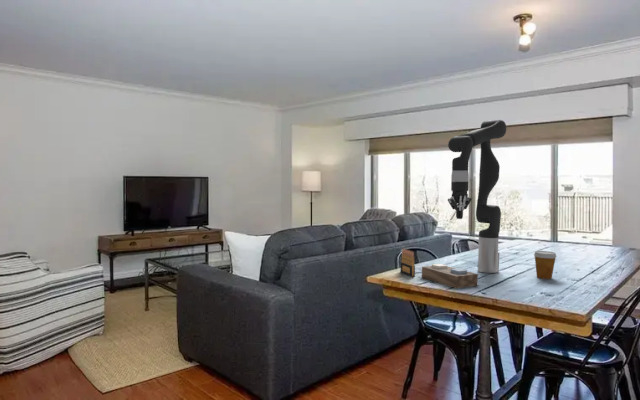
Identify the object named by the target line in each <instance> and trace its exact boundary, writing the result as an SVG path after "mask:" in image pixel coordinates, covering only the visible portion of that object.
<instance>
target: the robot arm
mask: <svg viewBox="0 0 640 400" xmlns="http://www.w3.org/2000/svg"><path fill="white" fill-rule="evenodd" d="M506 133H507V124H506V122H505V121H504V120H502V119H492V120H484V121H483V122H481V124H480V128H479V129H478V128H477V129H474V130H472V131H471V130H470V131H469V132H466V133H464V134H459V135H455V136H453V137H451V138H450V139H449V141H448V142H447V143H448V145H447V147H448V149H449V151H451V152H452V153H460V155H459V156H458V157H457V156H456V157H454V158H452V161H451V169H452V170H451V175H450V176H451V177H450V178H451V184H450V185H451V186H450V187H451V188H450V190H451V192H452V193H451V197H449V198H447V202H448V203H449V205H450V207H451V209H452V210H455V218H456V219H457V220H462V219H464V218H463V217H464V210H467V209H468V207H469V205H470V203H471V201H472V198H471V197H469V194H468V191H469V188H470V187H469V182H470V174H469V173H470V172H469V161H470V158H471V154H472V151H473V148H474V147H477V146H478V145H480V158H479V159H480V161H479V162H480V163H479V173H478V174H479V175H478V176H479V177H478V178H479V181H478V182H479V183H478V193H477V195H478V196H477V201H476V207H475V208H476V209H475V218H476V221H477V223H481V224H489V225H488V227H487V228H485V229H481V230H479V232H478V249H477V251H478V252H477V254H478V257H477V271H478V272H481V273H486V274H496V273H498V272H500V252H499V238H500V237H499V235H500V231H501V218H502V211H501V210H502V209H501V207H500V206H499V205H494V204H488V198H489V196H490V194H491V191H492V190H493V189H494V188H495V186H496V185H497V183H498V181H499V179H500V167H501V166H500V164H499V161H498V159H497V157H496V155H495V154H494V152H493V150H492V148H491V147H492V146H491V140H494V139H496V140H497V139H501V138H503V137H504V136H505V135H506Z"/></svg>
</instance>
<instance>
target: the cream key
mask: <svg viewBox="0 0 640 400" xmlns="http://www.w3.org/2000/svg"><path fill="white" fill-rule="evenodd" d="M431 266H432V268H436V269H447V266H448V265H447V264H442V263H433V264H431Z"/></svg>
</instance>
